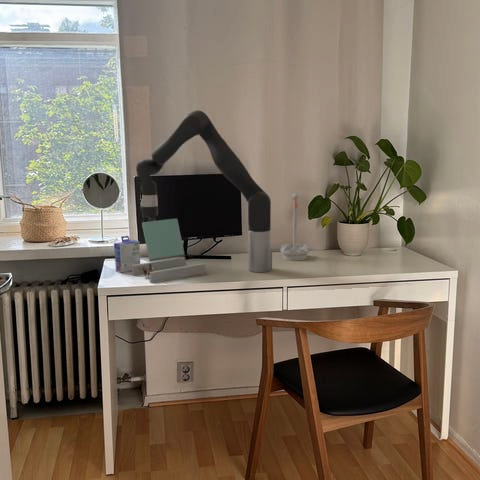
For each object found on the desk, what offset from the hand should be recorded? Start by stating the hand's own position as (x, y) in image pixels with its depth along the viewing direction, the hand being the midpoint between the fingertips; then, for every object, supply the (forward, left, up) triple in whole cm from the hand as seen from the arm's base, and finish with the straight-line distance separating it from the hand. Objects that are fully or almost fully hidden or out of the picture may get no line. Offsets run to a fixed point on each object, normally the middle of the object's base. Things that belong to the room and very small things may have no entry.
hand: (150, 243), depth 277 cm
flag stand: (-58, +31, -9) cm, 66 cm away
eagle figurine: (+14, +24, -9) cm, 29 cm away
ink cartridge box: (+14, +5, -9) cm, 18 cm away
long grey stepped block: (+4, +22, -9) cm, 24 cm away
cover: (0, +12, +4) cm, 13 cm away
